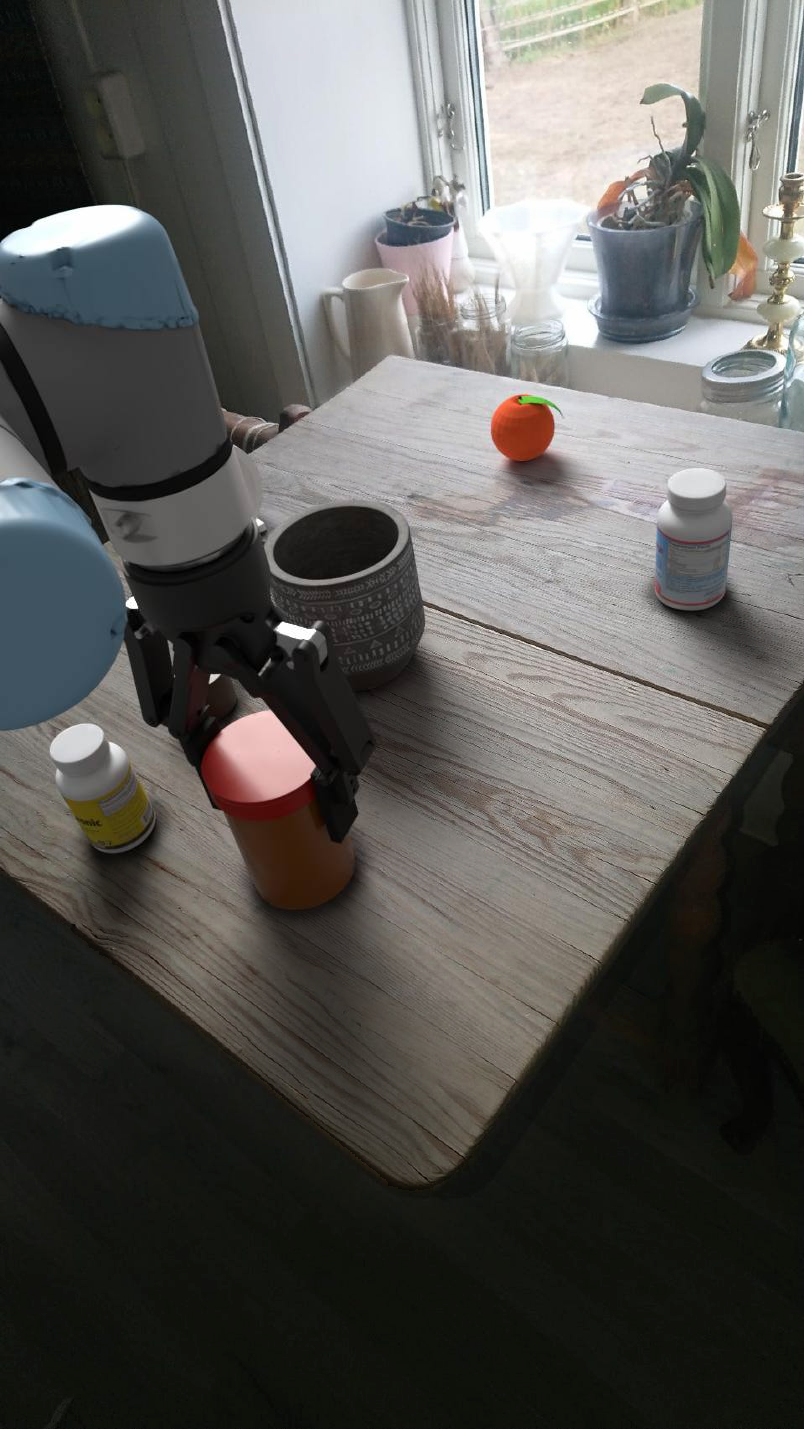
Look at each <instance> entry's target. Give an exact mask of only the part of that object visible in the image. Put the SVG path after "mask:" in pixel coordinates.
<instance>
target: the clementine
mask: <svg viewBox="0 0 804 1429" xmlns="http://www.w3.org/2000/svg"><path fill="white" fill-rule="evenodd" d="M549 407H552V408H554V409H555V410H556V411H558V412H559V414H560V415H561V417H562V418H563V419H565V417H564V416H563V413H562V411H561V409H560V408H559V407H558V406H557V405H556V404H555V403H553V402H552V401H550V400H548V399H546V398H543V397H540V396H535V395H532V394H525V393H521V394H515V395H512V396H510V397H508V398H507V399H506V400H504V401H503V402H501V403H500V404H499V406H498V407H497V408H496V409H495V411H494V413H493V416H492V418H491V421H490V436H491V440H492V443H493V444H494V446H495V448H496V450H497V451H498V452H500V453H501V454H502V455H503V456H504V457H506V458H508V459H510V460H513V461H517V462H527V461H531V460H535V459H536V458H537V457H539V456H541V455H542V454H543V453H545V452H546V451H547V449H548V448H549V447H550V446H551V443H552V441H553V438H554V436H555V430H556V429H555V428H556V423H555V418H554V415H553V413H552V411H551V409H550V408H549Z"/></svg>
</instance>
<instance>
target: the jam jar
mask: <svg viewBox="0 0 804 1429" xmlns="http://www.w3.org/2000/svg"><path fill="white" fill-rule="evenodd" d="M223 814H224V817H225V819H226V821H227V824H228V826H229V829H230V831H231V833H232V836H233V838H234V840H235V844H236V846H237V847H238V850H239V852H240V854H241V857H242V859H243V862H244V864H245V867H246V869H247V871H248V873H249V876H250V879H251V881H252V883H253V885H254V888H255V890H256V892H257V894H258V895H259V896H260V897H261V898H262V899H263V900H264V901H265V902H266V903H268V904H269V905H272V906H274V907H276V908H278V909H283V910H288V911H302V910H307V909H312V908H315V907H318V906H321V905H323V904H326V903H327V902H328V901H331V900H332V899H333V898H335V897H336V896H338V895H339V894H340V893H341V892H342V890H344V888H345V887H346V886H347V885H348V883H349V882H350V881H351V878H352V876H353V874H354V871H355V868H356V852H355V849H354V846H353V843H352V838H351V835H350V832H349V831H348V833H347V835H346V836H345V838H344V840H343V841H342V843H341V844H339V843H335V842H332V841H331V840H330V837H329V833H328V830H327V827H326V824H325V821H324V818H323V815H322V811H321V808H320V805H319V802H318V799H317V797H316V798H315V799H313V800H312V801H311V802H310V803H309V804H307V805H306V806H304V807H303V808H301V809H299V810H297V811H296V812H293V813H291V814H289V815H286V816H283V817H280V818H276V819H272V820H265V821H248V820H242V819H238V818H235V817H232V816H230V815H228V814H226V813H225V812H223Z"/></svg>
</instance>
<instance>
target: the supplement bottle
mask: <svg viewBox="0 0 804 1429" xmlns="http://www.w3.org/2000/svg"><path fill="white" fill-rule="evenodd" d="M49 756H50V758H51V760H52V761H53V764H54V766H55V767H56V771H55V778H54V780H55V785H56V787H57V789H58V792H59V793H60V795H61V796H62V798H63V799H64V802H65V803H66V804H67V807H68V808H69V809H70V811H71V813H72V815H73V816H74V817H75V820H76V821H77V823H78V825H79V826H80V828H81V830H82V832H83V833H84V835H85V836H86V838H87V839H88V842H90V844H91V845H92V846H93V847H94V848H95V849H96V850H97V851H100V852H103V853H106V854H119V853H124V852H126V851H129V850H132V849H134V848H135V847H137V846H139V845H140V844H142V843H143V842H144V841H145V840H146V839H147V838H148V837H149V836H150V835H151V833H152V831H153V829H154V827H155V824H156V820H157V819H156V812H155V809H154V806H153V804H152V802H151V800H150V798H149V796H148V795H147V793H146V790H145V789H144V787H143V785H142V782H141V781H140V779H139V777H138V775H137V773H136V771H135V768H134V767H133V765H132V763H131V760H130V758H129V757H128V755H127V754H126V752H125V751H124V749H123V748H122V747H121V746H120V745H118V744H116V743H114V742H112V741H109V740H108V738H107V736H106V734H105V732H104V730H103V729H102V728H101V727H100V726H98V725H96V724H93V723H79V724H75V725H72V726H70V727H68V728H66V729H64V730H62V731H60V733H58V734H57V735H56V736H55V737H54V739H53V740H52V742H51V743H50V747H49Z"/></svg>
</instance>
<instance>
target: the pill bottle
mask: <svg viewBox="0 0 804 1429" xmlns="http://www.w3.org/2000/svg"><path fill="white" fill-rule="evenodd" d="M666 490H667V492H666V498H667V500H665V501H664V502H663V504H661V506H660V508H659V510H658V513H657V519H656V537H655V538H656V539H655V564H654V566H655V567H654V592H655V595H656V597H657V598H658V600H659V601H660V602H661V603H662V604H664V605H665V606H667V607H670V608H673V609H676V610H681V611H702V610H707V609H709V608H711V607H713V606H715V605H716V604H718V603H719V602H720V601H721V600H722V599H723V597H724V595H725V594H726V590H727V580H728V571H729V561H730V560H729V559H730V549H731V539H732V528H733V511H732V507H731V506H730V504H728V502H727V501H726V500H725V499H726V498H727V481H726V478H725V477H724V476H723V475H722V474H721V473H720V472H718V471H716V470H713V469H709V468H703V467H692V468H687V469H683V470H682V469H681V470H680V471H677V472H676V473H674V474H673V475H671V477H670V478H669V479H668V482H667V489H666Z"/></svg>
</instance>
